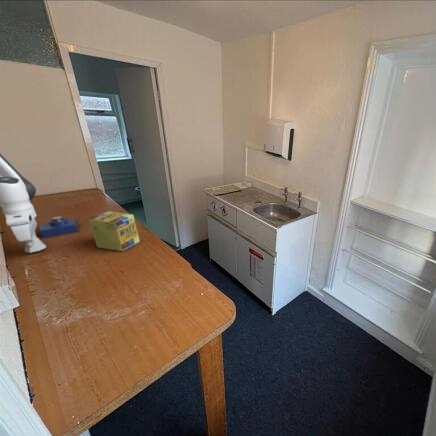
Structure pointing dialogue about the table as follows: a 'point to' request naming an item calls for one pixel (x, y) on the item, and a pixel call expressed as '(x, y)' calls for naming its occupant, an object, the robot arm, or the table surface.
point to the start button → (57, 218)
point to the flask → (35, 245)
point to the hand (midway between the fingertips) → (33, 242)
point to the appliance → (58, 227)
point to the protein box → (114, 231)
